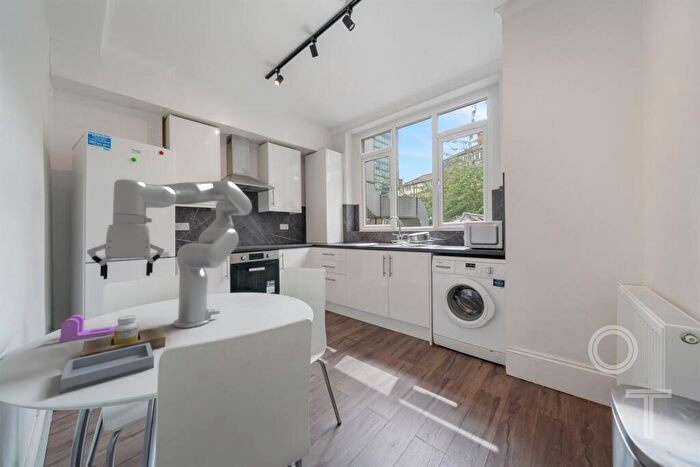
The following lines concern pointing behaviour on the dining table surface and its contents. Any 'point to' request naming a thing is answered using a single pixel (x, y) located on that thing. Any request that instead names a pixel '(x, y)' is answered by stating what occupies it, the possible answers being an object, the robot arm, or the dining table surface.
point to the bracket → (81, 330)
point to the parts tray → (106, 366)
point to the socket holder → (107, 343)
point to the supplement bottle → (126, 330)
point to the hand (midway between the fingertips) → (127, 276)
